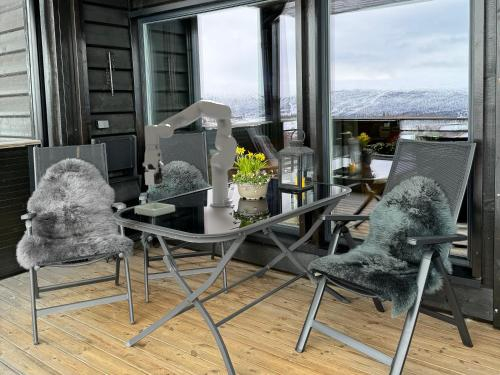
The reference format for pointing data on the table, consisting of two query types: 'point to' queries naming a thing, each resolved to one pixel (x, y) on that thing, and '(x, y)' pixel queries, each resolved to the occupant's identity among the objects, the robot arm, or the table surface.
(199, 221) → the table surface
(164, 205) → the tray
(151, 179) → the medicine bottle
